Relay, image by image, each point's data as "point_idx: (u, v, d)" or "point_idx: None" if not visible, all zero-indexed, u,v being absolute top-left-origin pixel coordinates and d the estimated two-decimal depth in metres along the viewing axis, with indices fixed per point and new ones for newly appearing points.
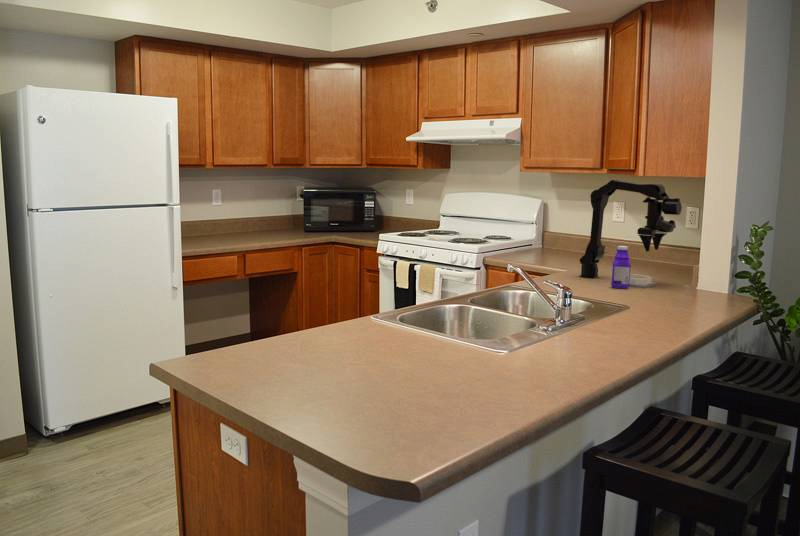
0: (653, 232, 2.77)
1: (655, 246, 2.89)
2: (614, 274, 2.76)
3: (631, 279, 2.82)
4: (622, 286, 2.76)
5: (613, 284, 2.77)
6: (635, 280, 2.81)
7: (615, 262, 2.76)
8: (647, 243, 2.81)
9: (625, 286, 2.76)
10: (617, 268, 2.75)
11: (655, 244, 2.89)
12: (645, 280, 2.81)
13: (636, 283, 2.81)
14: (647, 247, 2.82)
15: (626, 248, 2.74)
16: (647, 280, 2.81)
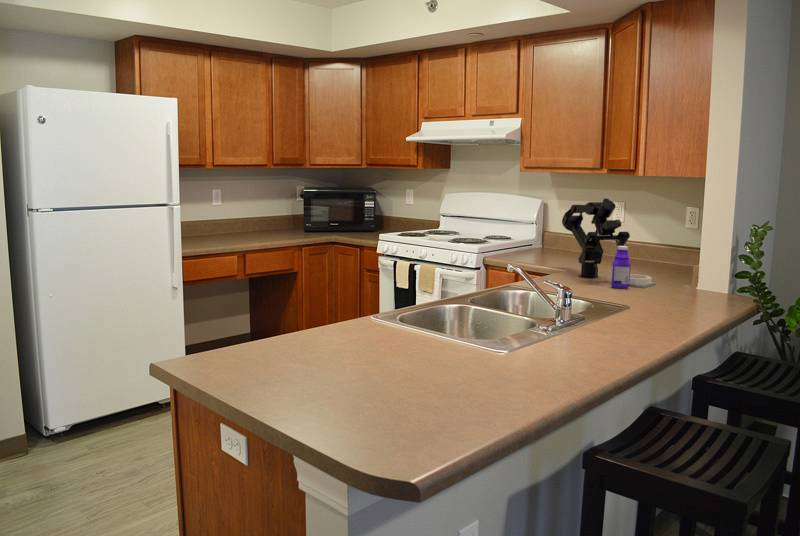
0: (593, 233, 2.85)
1: None
2: (614, 274, 2.76)
3: (631, 279, 2.82)
4: (622, 286, 2.76)
5: (613, 284, 2.77)
6: (635, 280, 2.81)
7: (615, 262, 2.76)
8: (598, 246, 2.85)
9: (625, 286, 2.76)
10: (617, 268, 2.75)
11: None
12: (645, 280, 2.81)
13: (636, 283, 2.81)
14: (600, 250, 2.84)
15: (626, 248, 2.74)
16: (647, 280, 2.81)
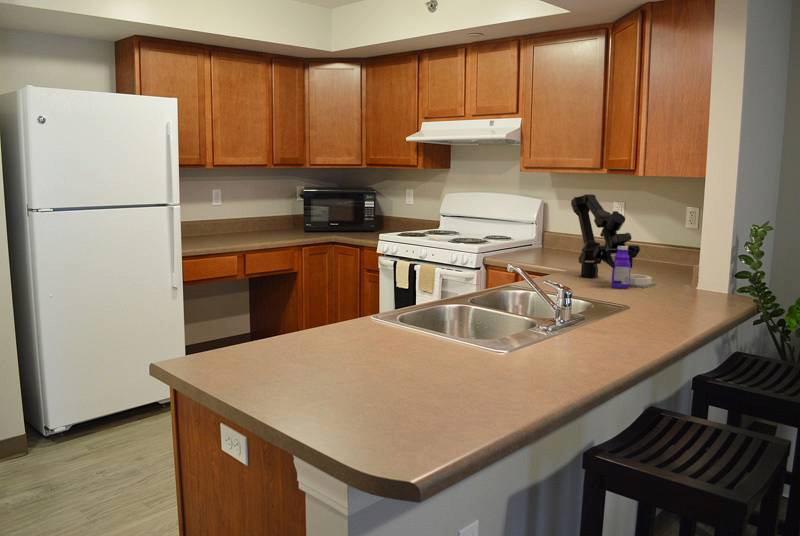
0: (603, 247, 2.77)
1: None
2: (614, 274, 2.76)
3: (631, 279, 2.82)
4: (622, 286, 2.76)
5: (613, 284, 2.77)
6: (635, 280, 2.81)
7: (615, 262, 2.76)
8: (609, 261, 2.77)
9: (625, 286, 2.76)
10: (617, 268, 2.75)
11: None
12: (645, 280, 2.81)
13: (636, 283, 2.81)
14: (611, 264, 2.76)
15: (626, 248, 2.74)
16: (647, 280, 2.81)
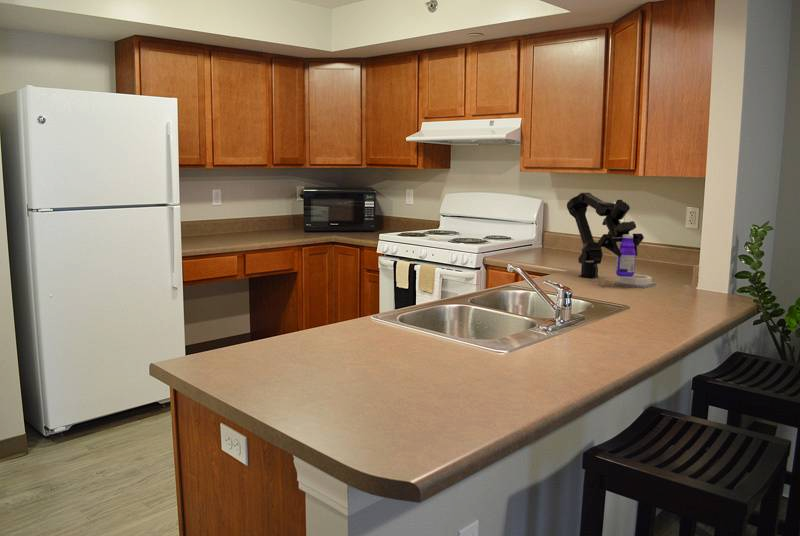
0: (608, 235, 2.77)
1: None
2: (620, 262, 2.77)
3: (631, 279, 2.82)
4: (628, 274, 2.77)
5: (619, 272, 2.78)
6: (635, 280, 2.81)
7: (621, 250, 2.77)
8: (615, 249, 2.78)
9: (630, 274, 2.77)
10: (623, 256, 2.76)
11: None
12: (645, 280, 2.81)
13: (636, 283, 2.81)
14: (617, 253, 2.77)
15: (632, 236, 2.76)
16: (647, 280, 2.81)
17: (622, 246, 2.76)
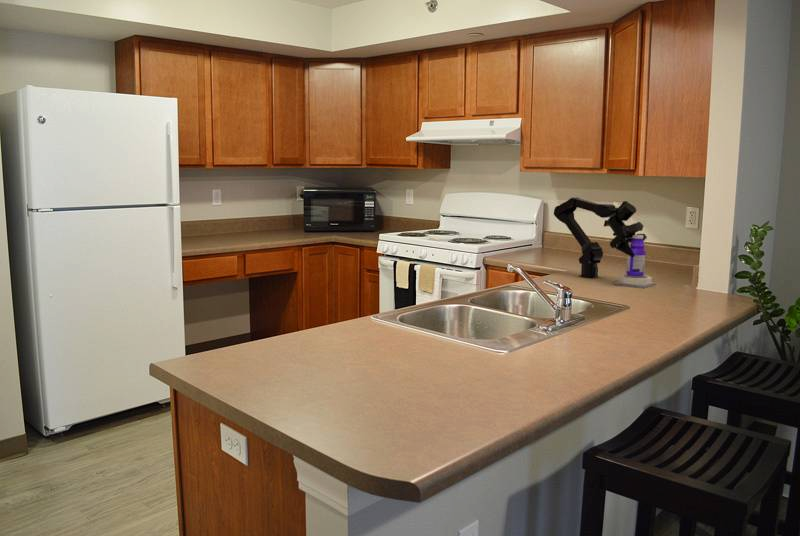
0: (622, 237, 2.82)
1: None
2: (633, 263, 2.83)
3: (631, 279, 2.82)
4: (640, 274, 2.84)
5: (632, 272, 2.84)
6: (635, 280, 2.81)
7: (633, 251, 2.83)
8: (627, 250, 2.83)
9: (642, 274, 2.85)
10: (636, 257, 2.82)
11: None
12: (645, 280, 2.81)
13: (636, 283, 2.81)
14: (630, 254, 2.82)
15: (642, 237, 2.83)
16: (647, 280, 2.81)
17: (634, 247, 2.83)
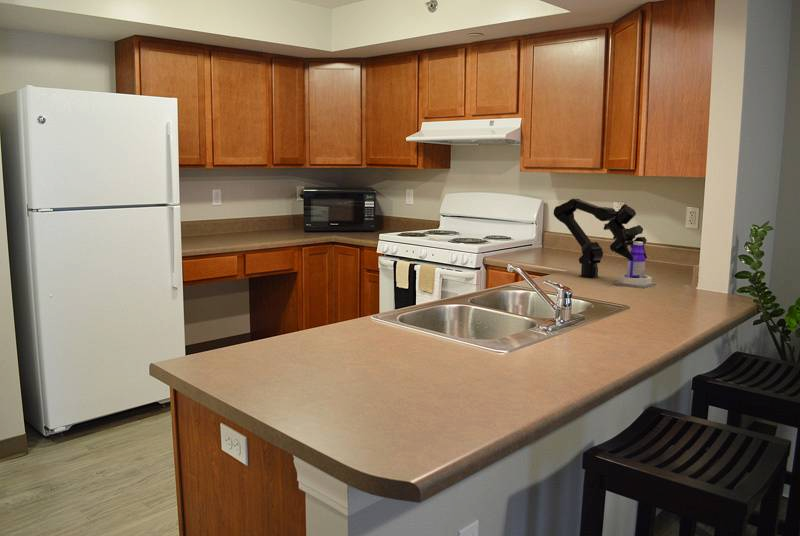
0: (622, 240, 2.82)
1: None
2: (633, 269, 2.83)
3: (631, 279, 2.82)
4: None
5: None
6: (635, 280, 2.81)
7: (633, 257, 2.83)
8: (626, 253, 2.82)
9: None
10: (636, 263, 2.83)
11: None
12: (645, 280, 2.81)
13: (636, 283, 2.81)
14: (629, 257, 2.82)
15: (642, 243, 2.83)
16: (647, 280, 2.81)
17: (634, 253, 2.83)
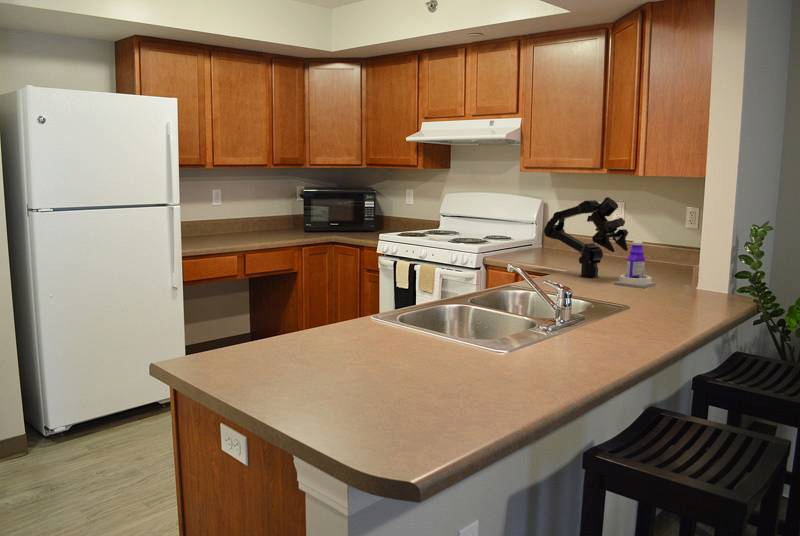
0: (604, 232, 2.89)
1: (624, 248, 2.95)
2: (632, 269, 2.83)
3: (631, 279, 2.82)
4: None
5: None
6: (635, 280, 2.81)
7: (633, 257, 2.83)
8: (608, 245, 2.90)
9: None
10: (636, 263, 2.83)
11: (623, 247, 2.96)
12: (645, 280, 2.81)
13: (636, 283, 2.81)
14: (610, 248, 2.89)
15: None
16: (647, 280, 2.81)
17: (634, 253, 2.83)
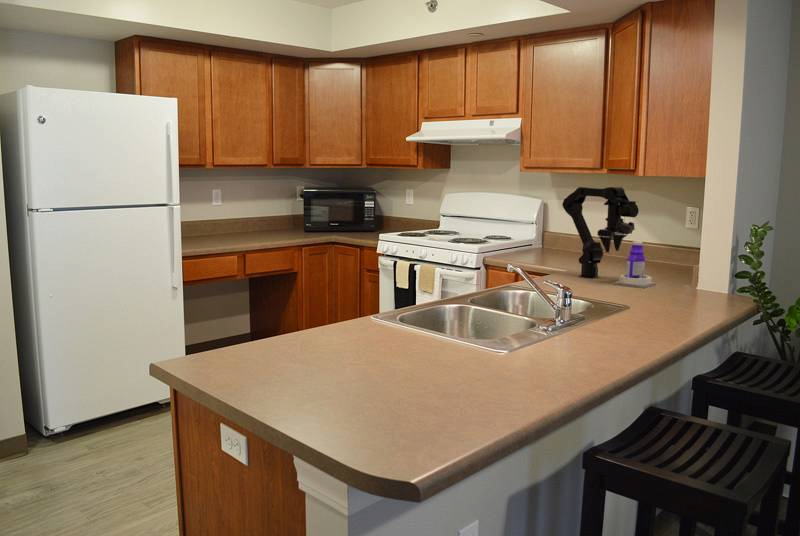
0: (612, 234, 2.86)
1: (616, 247, 2.98)
2: (632, 269, 2.83)
3: (631, 279, 2.82)
4: None
5: None
6: (635, 280, 2.81)
7: (633, 257, 2.83)
8: (607, 244, 2.90)
9: None
10: (636, 263, 2.83)
11: (616, 245, 2.98)
12: (645, 280, 2.81)
13: (636, 283, 2.81)
14: (607, 248, 2.91)
15: None
16: (647, 280, 2.81)
17: (634, 253, 2.83)
